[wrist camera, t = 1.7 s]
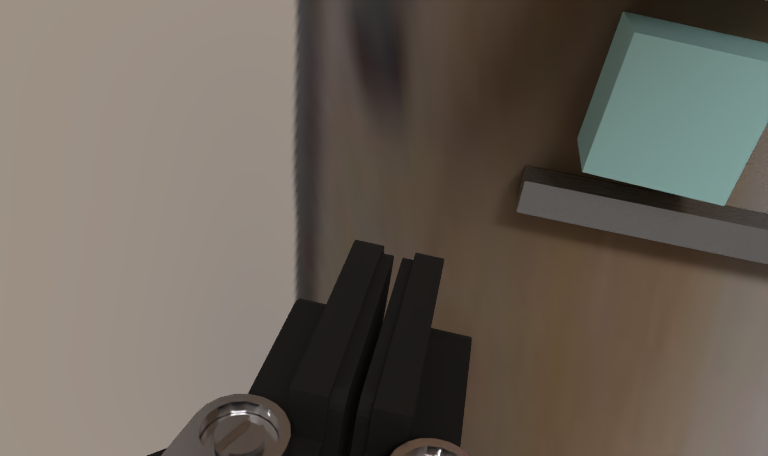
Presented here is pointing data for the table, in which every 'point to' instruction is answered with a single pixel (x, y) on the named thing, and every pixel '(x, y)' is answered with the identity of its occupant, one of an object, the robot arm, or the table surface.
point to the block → (676, 108)
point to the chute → (644, 214)
